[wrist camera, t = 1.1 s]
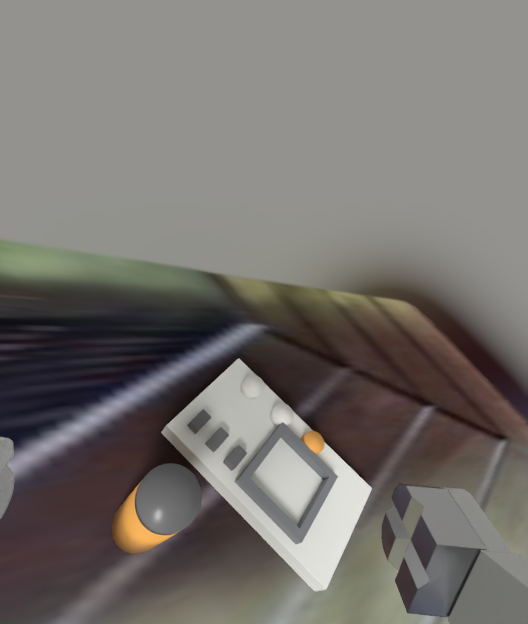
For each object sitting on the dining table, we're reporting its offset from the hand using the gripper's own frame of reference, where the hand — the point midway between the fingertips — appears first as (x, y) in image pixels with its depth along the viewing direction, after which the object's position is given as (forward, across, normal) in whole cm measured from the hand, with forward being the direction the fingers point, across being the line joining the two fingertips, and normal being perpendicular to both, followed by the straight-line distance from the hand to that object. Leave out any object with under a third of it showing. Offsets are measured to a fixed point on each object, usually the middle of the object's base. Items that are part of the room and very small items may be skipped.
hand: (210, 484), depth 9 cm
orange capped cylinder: (+20, +4, +24) cm, 32 cm away
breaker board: (+28, -7, +23) cm, 37 cm away
